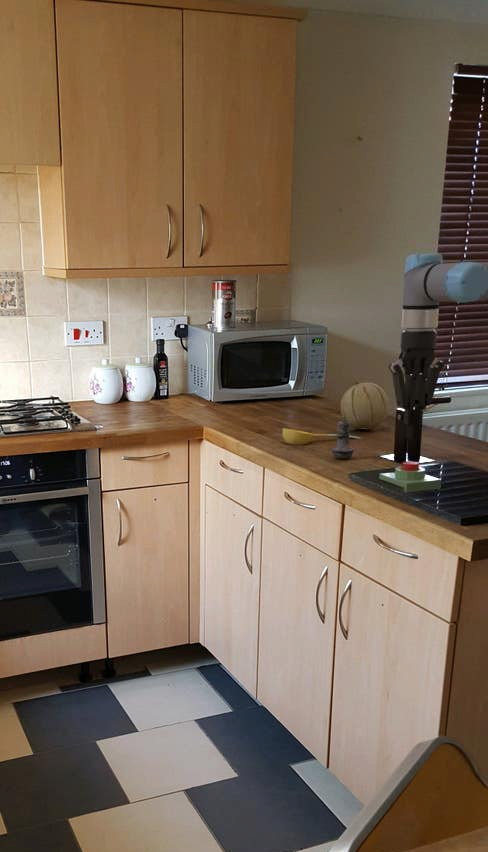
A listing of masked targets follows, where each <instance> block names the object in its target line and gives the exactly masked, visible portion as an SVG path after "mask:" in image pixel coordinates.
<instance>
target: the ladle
mask: <svg viewBox="0 0 488 852" xmlns="http://www.w3.org/2000/svg"><path fill="white" fill-rule="evenodd" d="M336 434H337V433H336ZM336 434H335V433H330V434H329V433H327V434H326V433H325V434H324V433H321V434H320V433H315V434H314V433H311V432H306V431H301V430H297V429H291V428H290V429H289V428H284V427H283V428H282V437H283V440H284V441H285V442H286V443H287V444H288V445H290V446H291V445H292V446H302V445H303V446H304V445H307V444H309V443H310V442H311V440H312V438H313V437H337V435H336ZM349 439H354V440H359V439H361V437H359V436H355V435H350V436H349Z"/></svg>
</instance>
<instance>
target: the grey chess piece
mask: <svg viewBox="0 0 488 852" xmlns="http://www.w3.org/2000/svg"><path fill="white" fill-rule="evenodd" d="M336 435H337V436H336V437H337V438H336V445H335V446H334V447H332V448H331V449H330V450H331V451H332V456H333V457H334V458H335V459H337V460H340V461H341V460H343V461H344V460H345V461H346V460H348V459H350V458H352V456H353V454H354V451H355V448H353V447H351V446H350V438H349V436H351V433H350V426H349V422H348V421H347V420H345V417H343V416H342V419H341V420H339V421H338V423H337V433H336Z"/></svg>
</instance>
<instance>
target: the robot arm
mask: <svg viewBox="0 0 488 852" xmlns="http://www.w3.org/2000/svg"><path fill="white" fill-rule="evenodd" d="M402 293H403V296H402V312H401V328H402V329H403V330H402V331H401V332H400V340H399V341H400V342H399V347H400V353H399V356H398V359H397V360H396V361H395V362H393V363H389V365H388V370H389V371H390V373H391V375H392V381H393V387H394V394H395V395H394V396H395V402H396V406H397V407H398V408H401V409H404V424H406V437H405V438H408V439H412V440H414V439H418V433H419V423H421V422H422V423H423V421H422V413H423V414H424V412H423V410H424V409H426V406H430V405H431V403H432V399H433V398H434V395H435V391H436V387H437V384H438V380H439V376H440V373H441V371H442V370H443V368H444V367H445V362H444V361H442V360H439V359H438V358H437V355H436V353H435V348H436V347H437V338H438V332H437V330H435V329H437V328H438V327H439V310H440V302H449V303H450V302H451V303H452V302H453V303H459V304H462V303H472V302H476V301H488V261H476V262H475V261H461V262H447V263H443V255H442V254H441V253H414V254H409V255H408V256H407V257H406V259H405V265H404V274H403V291H402ZM403 371H404V372H403Z"/></svg>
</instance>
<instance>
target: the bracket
mask: <svg viewBox="0 0 488 852" xmlns="http://www.w3.org/2000/svg"><path fill="white" fill-rule="evenodd" d="M423 421H424V412H423V413H422V422H421V423H419V433H418V439H414V440H412V439H408V438H405V437H406V424H404V408H396V409H395V424H394V441H393V442H394V443H393V454H386V455H378V458H380V459H385V460H387V461H390V462H394V463H397V464H401V465H402V464H403V462H407V461H412V462H418V463H419V465H420V464H428V463H436V462H437V461H436V460H434V459H430V458H427V457H424V456H421V448H422V433H423Z"/></svg>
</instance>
